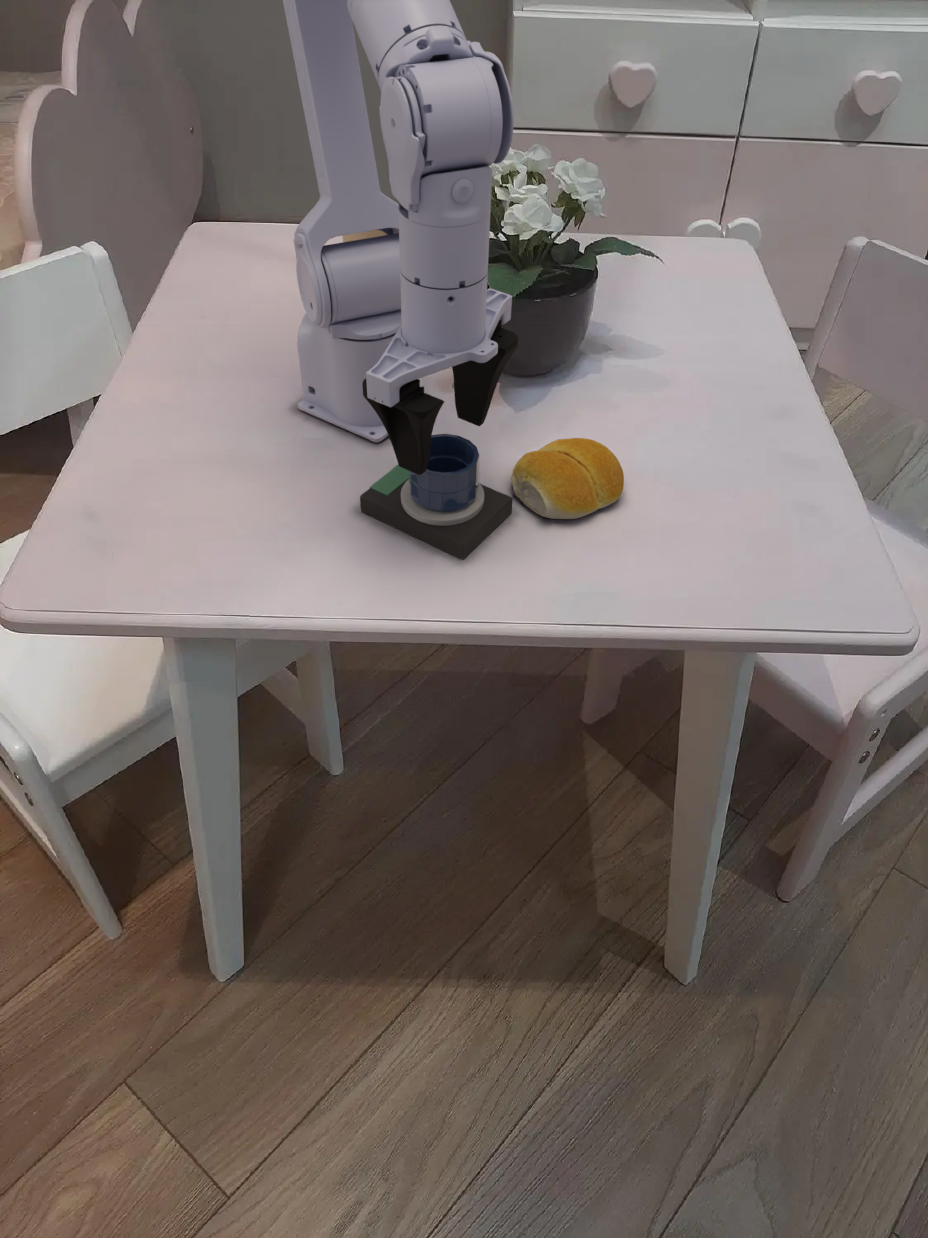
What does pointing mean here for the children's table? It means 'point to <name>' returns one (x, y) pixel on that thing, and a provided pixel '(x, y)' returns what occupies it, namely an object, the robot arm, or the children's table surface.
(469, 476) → the cup
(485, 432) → the children's table surface
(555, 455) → the bread roll
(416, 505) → the scale
